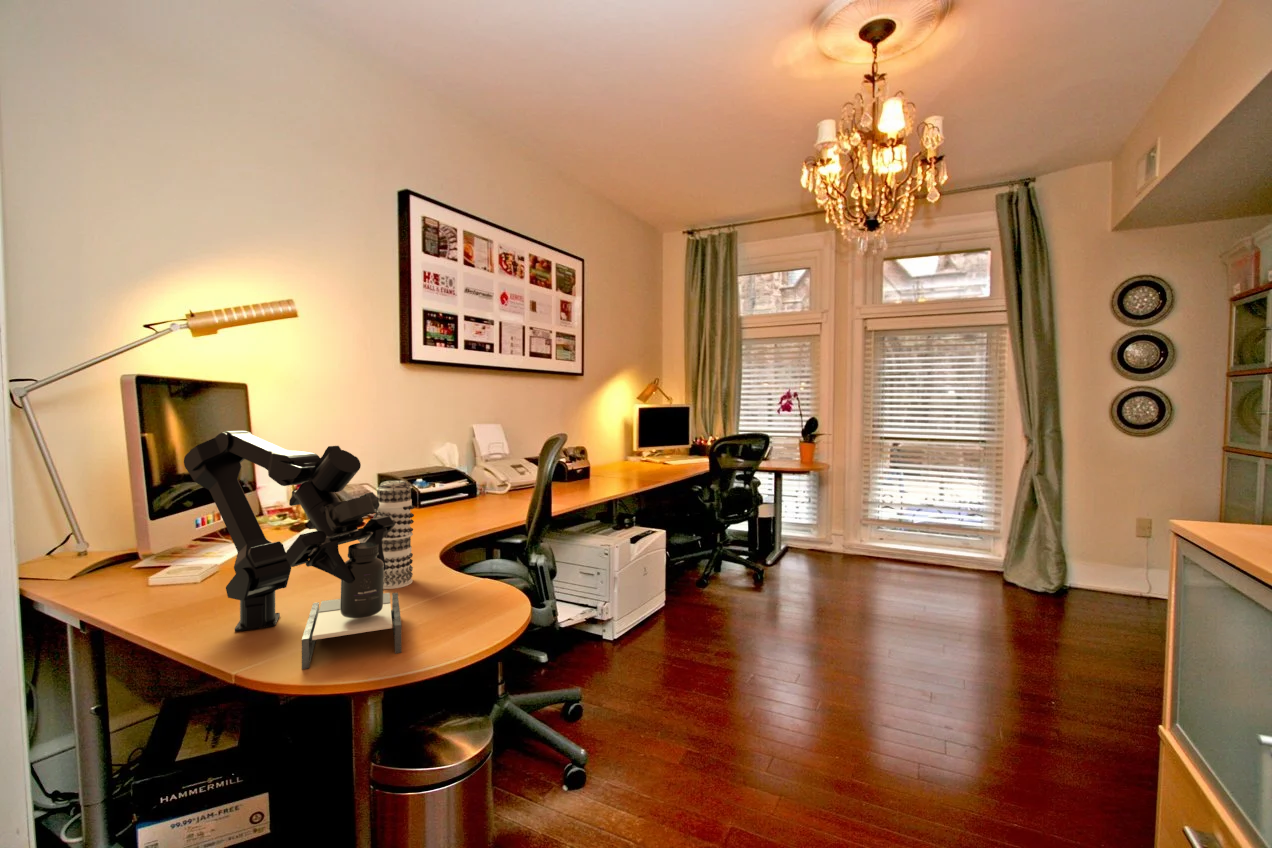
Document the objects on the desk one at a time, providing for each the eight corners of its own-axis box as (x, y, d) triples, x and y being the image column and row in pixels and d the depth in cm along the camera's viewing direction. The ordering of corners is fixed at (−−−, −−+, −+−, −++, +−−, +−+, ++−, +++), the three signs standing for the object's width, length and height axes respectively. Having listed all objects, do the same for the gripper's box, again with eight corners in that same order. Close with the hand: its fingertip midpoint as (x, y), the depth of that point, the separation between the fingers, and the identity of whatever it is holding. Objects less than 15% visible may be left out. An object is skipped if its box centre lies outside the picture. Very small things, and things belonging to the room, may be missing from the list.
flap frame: (313, 628, 104) (313, 603, 104) (397, 616, 111) (397, 592, 110) (301, 669, 88) (301, 639, 88) (401, 652, 94) (401, 624, 94)
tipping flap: (321, 616, 104) (321, 601, 104) (389, 607, 109) (389, 592, 109) (312, 652, 88) (312, 634, 88) (392, 640, 94) (392, 623, 94)
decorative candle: (405, 575, 138) (405, 478, 137) (420, 583, 131) (420, 482, 131) (367, 582, 131) (367, 481, 131) (381, 592, 125) (381, 485, 124)
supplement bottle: (364, 621, 92) (365, 552, 91) (331, 616, 93) (331, 548, 93) (391, 606, 98) (392, 542, 98) (360, 602, 100) (360, 539, 99)
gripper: (298, 486, 88) (347, 562, 84) (388, 474, 105) (432, 536, 102) (265, 529, 91) (310, 603, 87) (357, 510, 108) (399, 571, 105)
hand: (368, 576), depth 95 cm, fingers closed on supplement bottle, 7 cm apart
